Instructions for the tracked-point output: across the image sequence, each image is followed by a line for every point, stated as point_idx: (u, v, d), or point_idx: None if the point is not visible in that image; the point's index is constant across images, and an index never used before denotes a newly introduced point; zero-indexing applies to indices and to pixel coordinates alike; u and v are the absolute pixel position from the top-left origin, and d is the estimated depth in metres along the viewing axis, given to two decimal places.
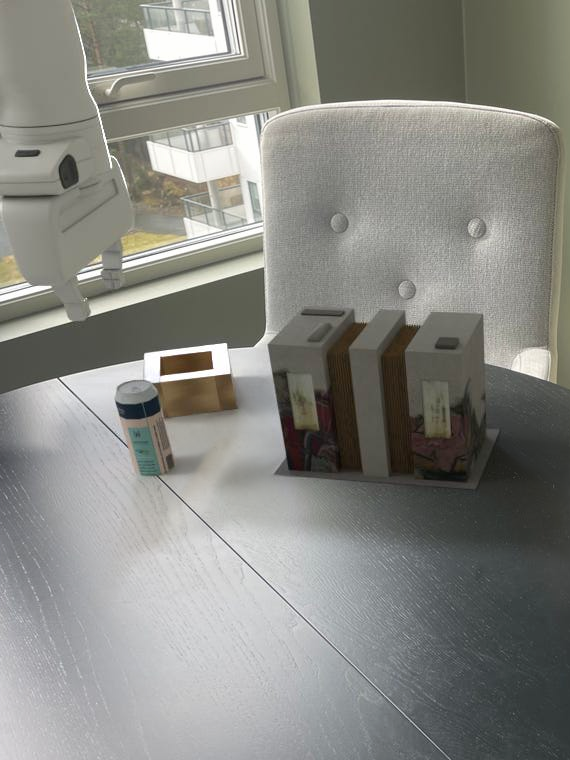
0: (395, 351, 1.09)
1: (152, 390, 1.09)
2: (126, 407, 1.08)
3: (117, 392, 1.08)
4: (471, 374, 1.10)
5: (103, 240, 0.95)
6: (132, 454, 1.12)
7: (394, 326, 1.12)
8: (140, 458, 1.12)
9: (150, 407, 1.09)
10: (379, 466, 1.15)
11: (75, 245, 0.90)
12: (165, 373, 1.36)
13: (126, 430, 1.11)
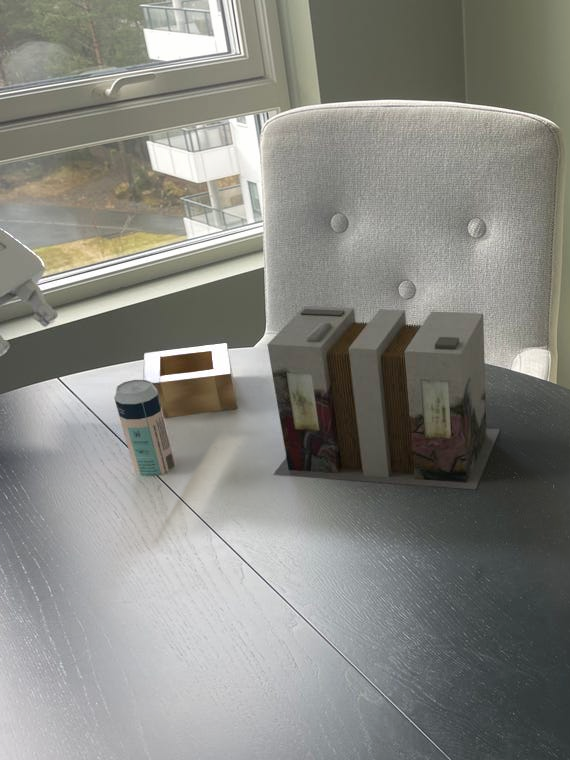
0: (395, 351, 1.09)
1: (152, 390, 1.09)
2: (126, 407, 1.08)
3: (117, 392, 1.08)
4: (471, 374, 1.10)
5: None
6: (132, 454, 1.12)
7: (394, 326, 1.12)
8: (140, 458, 1.12)
9: (150, 406, 1.09)
10: (379, 466, 1.15)
11: None
12: (165, 373, 1.36)
13: (126, 430, 1.11)
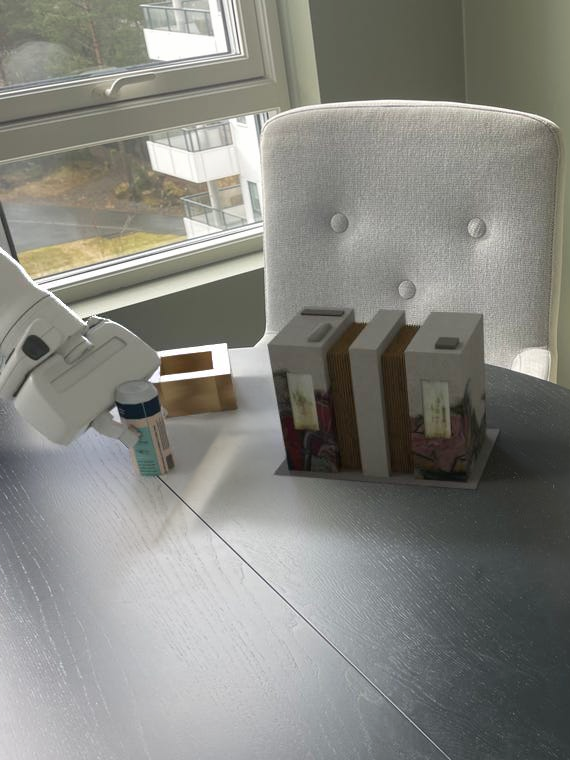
0: (395, 351, 1.09)
1: (152, 390, 1.09)
2: (126, 407, 1.08)
3: (117, 392, 1.08)
4: (471, 374, 1.10)
5: (119, 382, 1.10)
6: (132, 454, 1.12)
7: (394, 326, 1.12)
8: (140, 458, 1.12)
9: (150, 407, 1.09)
10: (379, 466, 1.15)
11: (81, 396, 1.05)
12: (165, 373, 1.36)
13: None
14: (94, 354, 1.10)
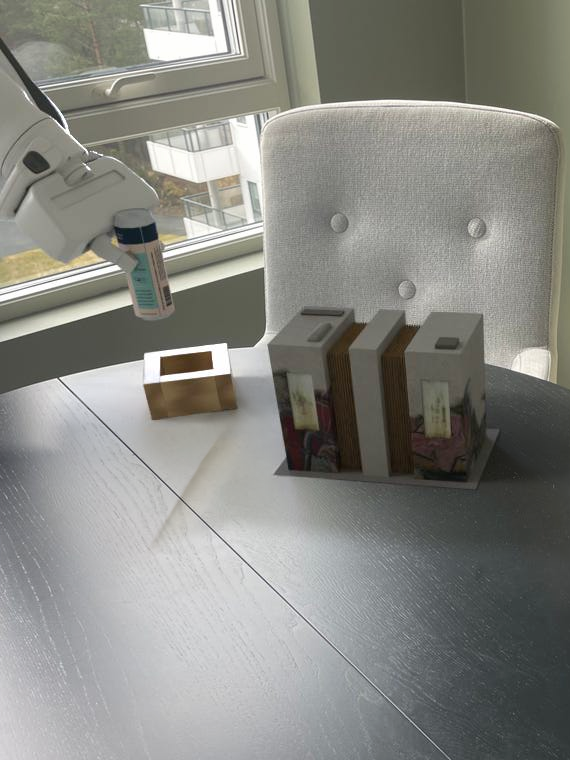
0: (395, 351, 1.09)
1: (150, 216, 1.12)
2: (124, 232, 1.11)
3: (116, 217, 1.11)
4: (471, 374, 1.10)
5: (118, 210, 1.13)
6: (130, 283, 1.15)
7: (394, 326, 1.12)
8: (137, 287, 1.15)
9: (147, 232, 1.12)
10: (379, 466, 1.15)
11: (80, 216, 1.08)
12: (165, 373, 1.36)
13: None
14: (93, 182, 1.13)
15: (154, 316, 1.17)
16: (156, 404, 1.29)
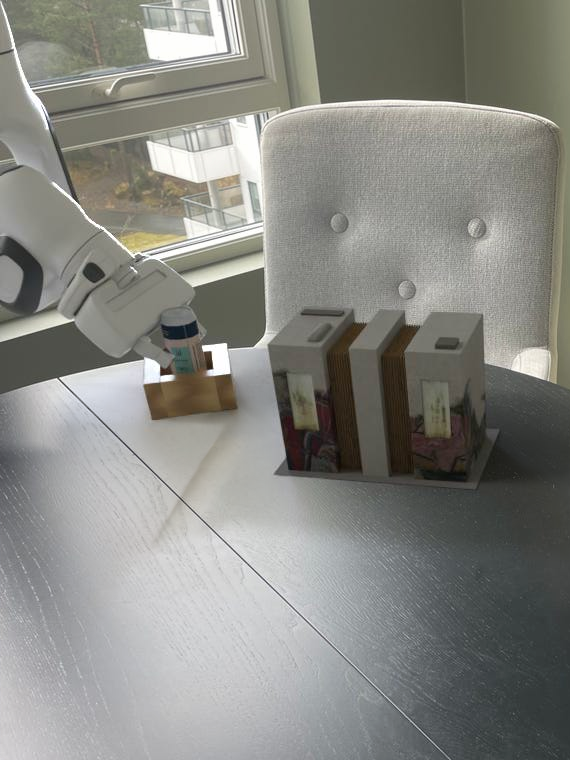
0: (395, 351, 1.09)
1: (192, 315, 1.28)
2: (170, 329, 1.27)
3: (162, 316, 1.27)
4: (471, 374, 1.10)
5: (161, 307, 1.29)
6: (174, 371, 1.32)
7: (394, 326, 1.12)
8: None
9: (190, 329, 1.28)
10: (379, 466, 1.15)
11: (131, 316, 1.24)
12: (165, 373, 1.36)
13: (169, 350, 1.30)
14: (140, 283, 1.29)
15: None
16: (156, 404, 1.29)
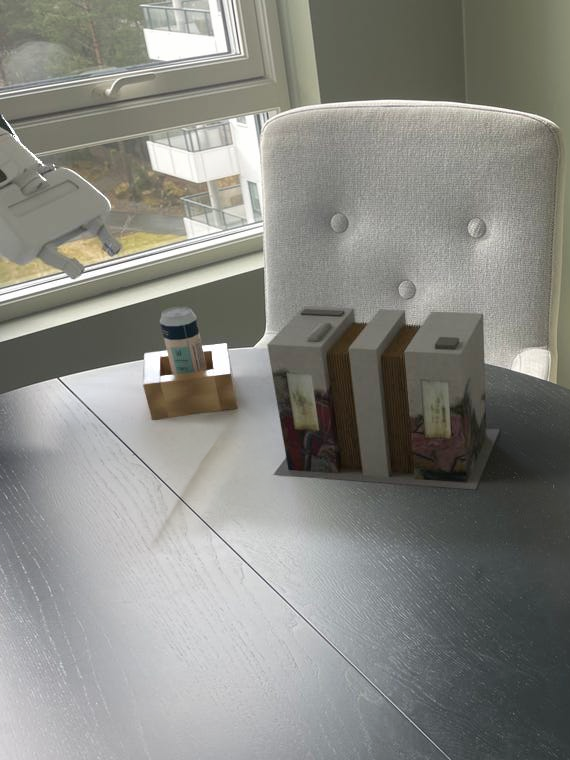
0: (395, 351, 1.09)
1: (192, 315, 1.28)
2: (170, 329, 1.27)
3: (162, 316, 1.27)
4: (471, 374, 1.10)
5: (71, 217, 1.24)
6: (174, 371, 1.32)
7: (394, 326, 1.12)
8: None
9: (190, 329, 1.28)
10: (379, 466, 1.15)
11: (36, 222, 1.19)
12: (165, 373, 1.36)
13: (169, 350, 1.30)
14: (48, 191, 1.24)
15: None
16: (156, 404, 1.29)
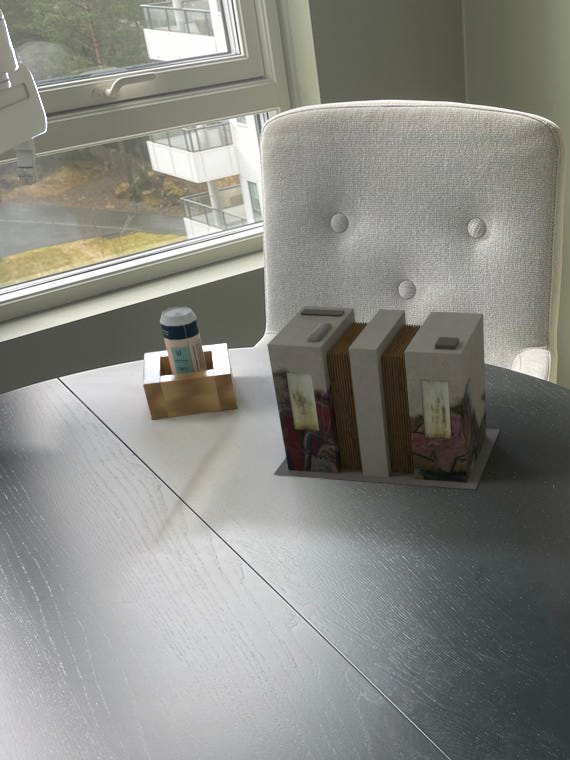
0: (395, 351, 1.09)
1: (192, 315, 1.28)
2: (170, 329, 1.27)
3: (162, 316, 1.27)
4: (471, 374, 1.10)
5: (13, 136, 1.07)
6: (174, 371, 1.32)
7: (394, 326, 1.12)
8: None
9: (190, 329, 1.28)
10: (379, 466, 1.15)
11: None
12: (165, 373, 1.36)
13: (169, 350, 1.30)
14: (3, 92, 1.06)
15: None
16: (156, 404, 1.29)
